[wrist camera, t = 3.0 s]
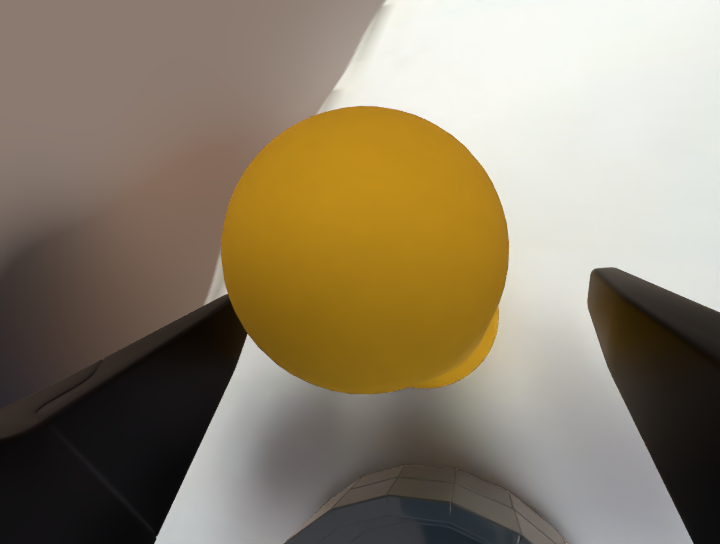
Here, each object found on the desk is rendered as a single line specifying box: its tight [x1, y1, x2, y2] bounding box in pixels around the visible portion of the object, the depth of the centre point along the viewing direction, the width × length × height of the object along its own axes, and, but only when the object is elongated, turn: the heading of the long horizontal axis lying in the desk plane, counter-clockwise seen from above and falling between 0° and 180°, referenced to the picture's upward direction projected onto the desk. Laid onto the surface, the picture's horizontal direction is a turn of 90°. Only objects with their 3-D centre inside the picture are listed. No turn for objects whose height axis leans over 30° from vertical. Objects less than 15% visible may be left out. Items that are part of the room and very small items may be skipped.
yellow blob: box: [221, 106, 509, 394], centre depth 11 cm, size 6×6×14 cm
